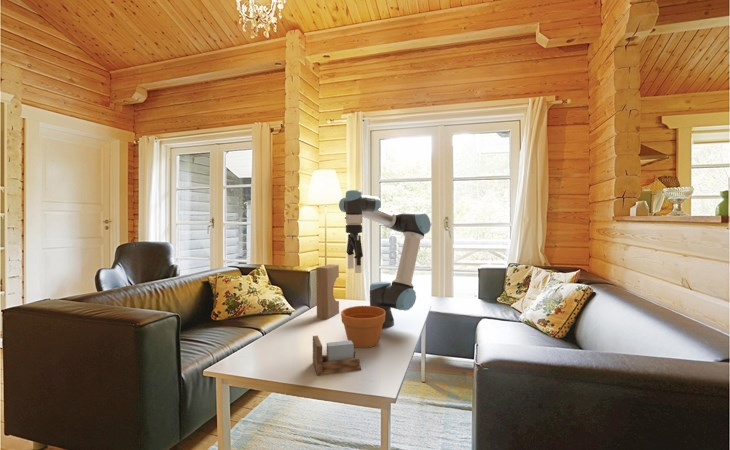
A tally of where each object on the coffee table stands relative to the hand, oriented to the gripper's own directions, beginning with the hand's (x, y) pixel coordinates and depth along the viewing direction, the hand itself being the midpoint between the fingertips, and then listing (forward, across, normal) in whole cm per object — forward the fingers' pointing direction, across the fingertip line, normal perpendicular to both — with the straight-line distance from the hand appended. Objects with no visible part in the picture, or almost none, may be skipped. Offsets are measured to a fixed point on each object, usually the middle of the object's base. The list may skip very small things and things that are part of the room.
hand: (354, 270), depth 156 cm
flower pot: (+35, -3, +5) cm, 35 cm away
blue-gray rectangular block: (+34, +19, -11) cm, 40 cm away
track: (+35, +19, -12) cm, 41 cm away
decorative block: (+35, -53, -3) cm, 64 cm away
